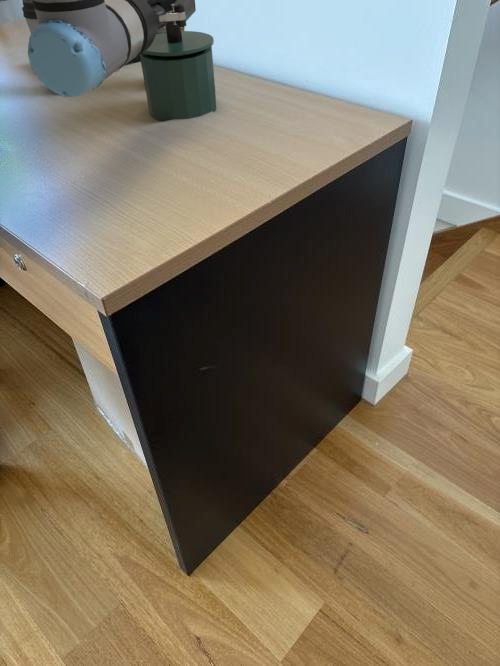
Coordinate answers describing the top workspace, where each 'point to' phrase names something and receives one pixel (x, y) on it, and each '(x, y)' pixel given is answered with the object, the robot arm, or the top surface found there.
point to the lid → (178, 42)
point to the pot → (179, 85)
